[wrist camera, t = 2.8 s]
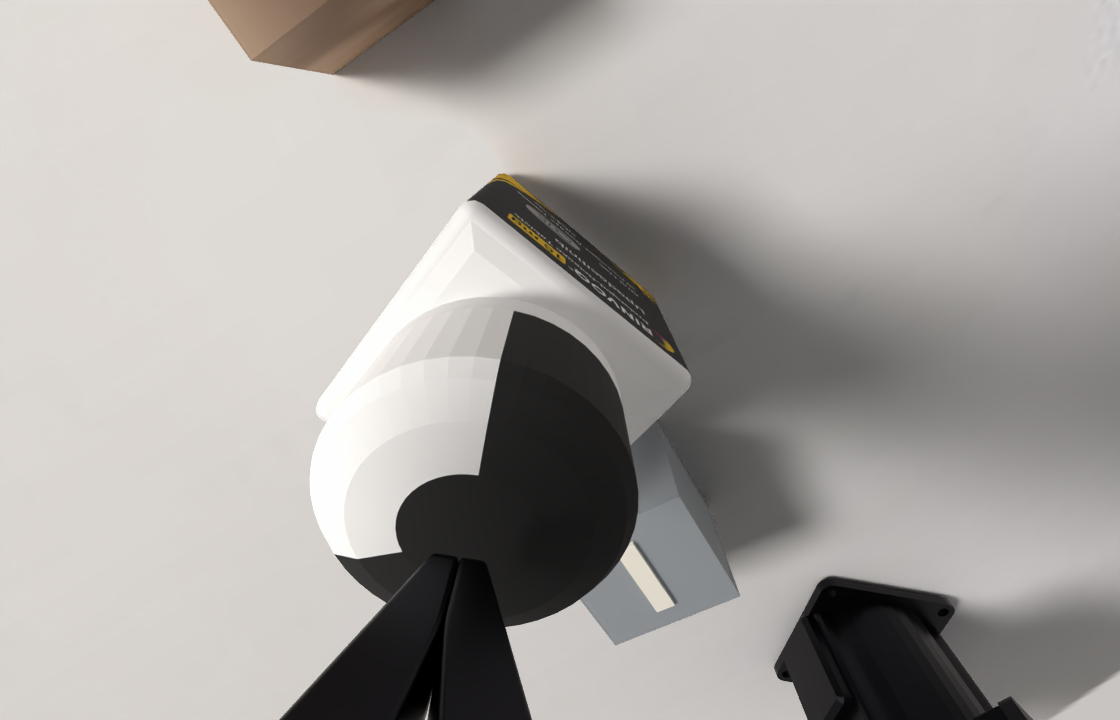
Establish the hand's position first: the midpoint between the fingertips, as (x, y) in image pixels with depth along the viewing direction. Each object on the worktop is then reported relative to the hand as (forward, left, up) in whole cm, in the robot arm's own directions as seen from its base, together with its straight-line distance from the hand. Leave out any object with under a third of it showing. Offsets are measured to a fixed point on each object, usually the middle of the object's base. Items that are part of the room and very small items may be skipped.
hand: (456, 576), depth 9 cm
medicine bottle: (0, 0, -13) cm, 13 cm away
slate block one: (-6, +7, -13) cm, 16 cm away
